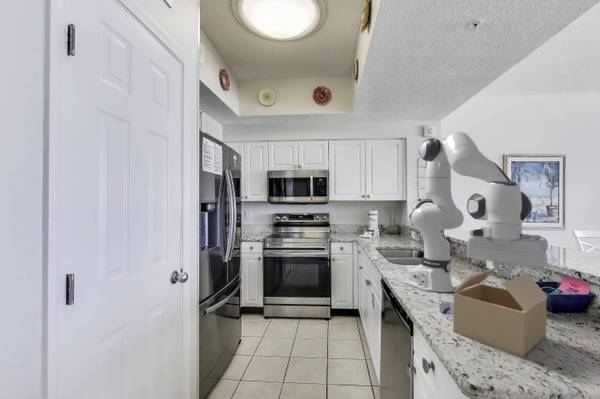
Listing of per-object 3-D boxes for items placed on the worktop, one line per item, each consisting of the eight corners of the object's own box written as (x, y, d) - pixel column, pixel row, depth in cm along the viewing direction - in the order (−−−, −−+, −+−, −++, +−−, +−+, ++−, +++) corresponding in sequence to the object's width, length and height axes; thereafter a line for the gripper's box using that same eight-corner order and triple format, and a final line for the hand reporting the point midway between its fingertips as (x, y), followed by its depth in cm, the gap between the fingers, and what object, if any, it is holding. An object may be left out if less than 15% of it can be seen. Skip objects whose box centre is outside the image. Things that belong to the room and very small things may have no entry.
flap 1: (497, 268, 95) (495, 267, 95) (472, 276, 84) (470, 275, 84) (480, 282, 99) (479, 281, 99) (454, 292, 88) (453, 290, 88)
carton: (453, 331, 88) (453, 293, 88) (480, 317, 99) (481, 283, 99) (523, 358, 73) (524, 313, 73) (546, 337, 84) (546, 298, 84)
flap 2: (502, 283, 77) (504, 282, 77) (525, 273, 88) (527, 272, 88) (524, 311, 73) (526, 310, 73) (546, 297, 84) (547, 296, 84)
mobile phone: (438, 312, 101) (437, 299, 114) (438, 315, 101) (437, 302, 114) (462, 316, 98) (458, 302, 111) (462, 319, 98) (458, 305, 111)
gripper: (550, 235, 79) (551, 283, 78) (472, 229, 95) (472, 269, 95) (544, 236, 75) (544, 287, 75) (464, 230, 92) (464, 271, 91)
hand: (503, 277), depth 85 cm, fingers closed
